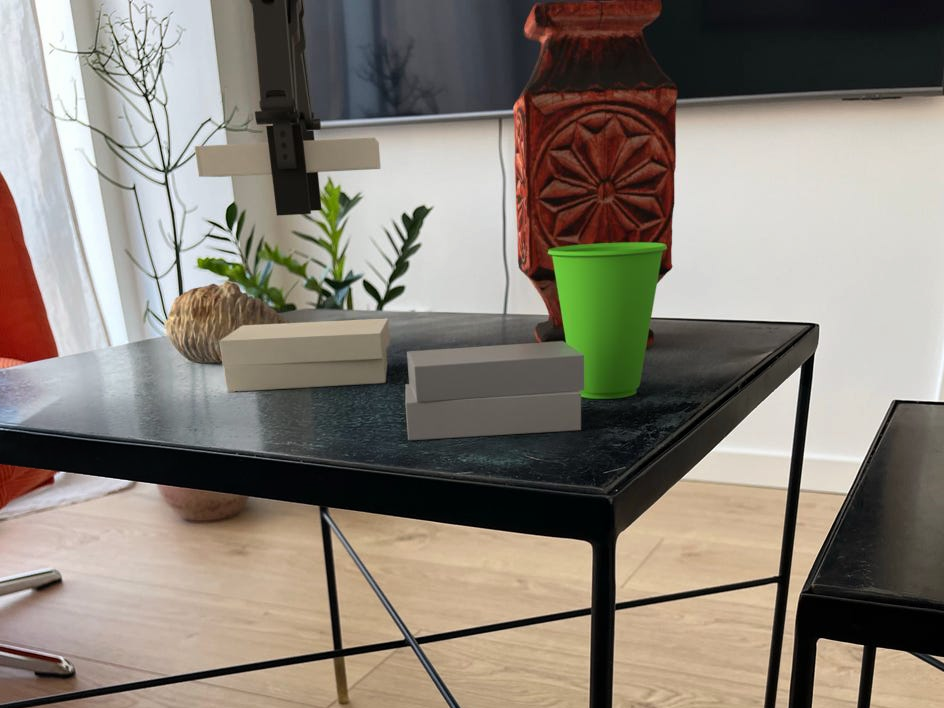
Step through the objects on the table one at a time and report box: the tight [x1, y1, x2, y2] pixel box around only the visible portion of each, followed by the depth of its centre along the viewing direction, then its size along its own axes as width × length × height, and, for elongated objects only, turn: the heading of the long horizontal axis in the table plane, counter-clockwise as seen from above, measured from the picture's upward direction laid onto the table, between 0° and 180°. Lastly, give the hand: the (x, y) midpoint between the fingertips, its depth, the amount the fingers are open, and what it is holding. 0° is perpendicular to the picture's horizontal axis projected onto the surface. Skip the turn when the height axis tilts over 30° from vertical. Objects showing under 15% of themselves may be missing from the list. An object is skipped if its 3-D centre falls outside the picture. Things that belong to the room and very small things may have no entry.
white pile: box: [219, 317, 391, 393], centre depth 93 cm, size 14×11×4 cm
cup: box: [548, 242, 667, 400], centre depth 79 cm, size 9×9×11 cm
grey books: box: [404, 341, 584, 442], centre depth 72 cm, size 12×8×5 cm, turn 94°
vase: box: [512, 0, 679, 349], centre depth 99 cm, size 14×14×30 cm
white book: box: [194, 137, 382, 178], centre depth 86 cm, size 14×10×2 cm
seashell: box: [163, 280, 291, 364], centre depth 106 cm, size 14×10×10 cm
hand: (300, 212), depth 87 cm, fingers closed on white book, 10 cm apart
